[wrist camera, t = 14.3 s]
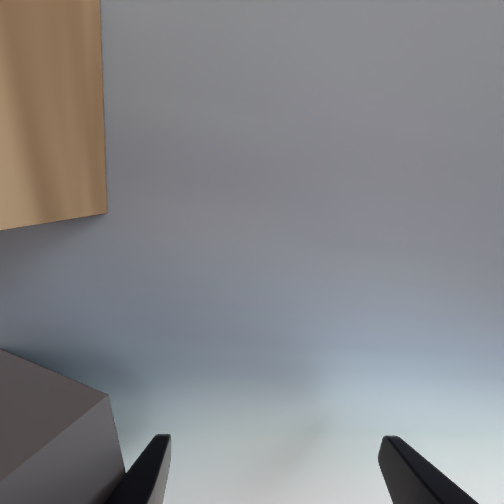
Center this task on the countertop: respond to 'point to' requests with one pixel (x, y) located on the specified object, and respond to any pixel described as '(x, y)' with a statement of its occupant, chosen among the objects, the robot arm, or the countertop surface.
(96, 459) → the block
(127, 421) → the countertop surface
